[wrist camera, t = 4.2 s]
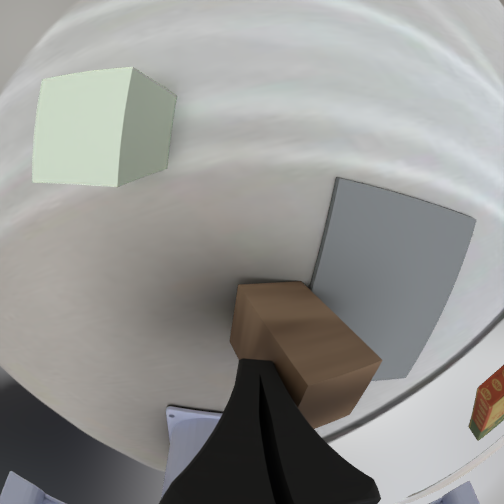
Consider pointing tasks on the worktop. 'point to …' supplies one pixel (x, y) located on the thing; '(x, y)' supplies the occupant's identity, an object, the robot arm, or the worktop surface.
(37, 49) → the worktop surface
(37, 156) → the sage block
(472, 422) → the carton
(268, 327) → the walnut block
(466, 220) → the mat
